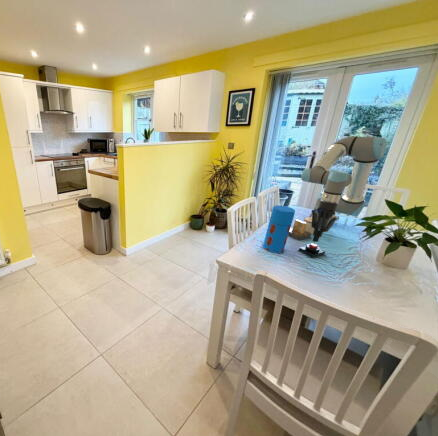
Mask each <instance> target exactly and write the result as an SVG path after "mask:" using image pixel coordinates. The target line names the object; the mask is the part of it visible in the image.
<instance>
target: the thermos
mask: <svg viewBox="0 0 438 436" xmlns="http://www.w3.org/2000/svg"><path fill="white" fill-rule="evenodd" d="M295 213H296V210H295V208H292V207H290V206H286V205H280V204H279V205H277V204H276V205H273V207H272V209H271V213H270V217H269V222H268V225H267V229H266V233H265V237H264V240H263V246H262V247H263V248H264V250H266V251H268V252H271V253H276V254H281V253H283V252H284V249H285V247H286V244H287V240H288V237H289V236H288V234H289V231H290V229H291V228H292V224H293V220H294V217H295Z"/></svg>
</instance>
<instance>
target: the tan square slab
mask: <svg viewBox="0 0 438 436" xmlns="http://www.w3.org/2000/svg"><path fill="white" fill-rule="evenodd" d="M306 226H307V223H305V222H304V221H302V220H299V219H294V222H293V225H292V228H293V230H295V231H297V232H299V233H301V234H303V233H304V232H305V229H306Z"/></svg>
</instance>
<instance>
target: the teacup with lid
mask: <svg viewBox="0 0 438 436" xmlns="http://www.w3.org/2000/svg"><path fill="white" fill-rule="evenodd" d="M308 217H309V216H308ZM308 217H304V218H303V222H305V223H307V226H306V229H305V231H307V232H309V233H312V234H311V236H314V235H313V233H314V228H312V217H309V218H308Z"/></svg>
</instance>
